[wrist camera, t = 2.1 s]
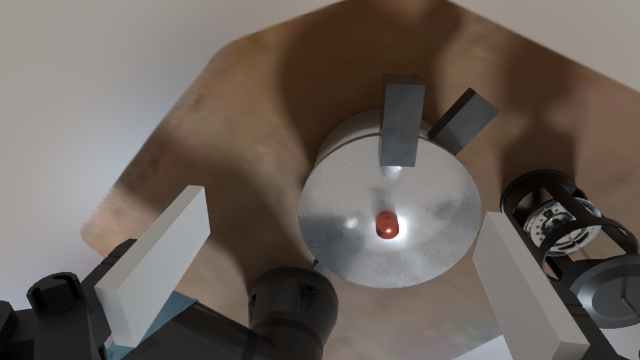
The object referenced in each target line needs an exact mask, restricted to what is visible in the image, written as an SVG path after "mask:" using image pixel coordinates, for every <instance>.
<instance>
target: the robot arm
mask: <svg viewBox="0 0 640 360" xmlns="http://www.w3.org/2000/svg"><path fill="white" fill-rule="evenodd" d="M209 235H210V226H209V219H208V211H207V204H206V197H205V190H204V186H194V185H188V186H187V187H186V188H185V189H184V191H183V192H182V193H181V194H180V195H179V196H178V197H177V198H176V199H175V200H174V201H173V202H172V203H171V204H170V206H169V207H168V208H167V209H166V210H165V211H164V212H163V213H162V214H161V215H160V216H159V217H158V218H157V220H156V221H155V222H154V223H153V224H152V225H151V226H150V227H149V228H148V229H147V230H146V231H145V232H144V234H143V235H142V236H141V237H140V238H139V239H128V240H127V241H125V242H123V243H121V244H120V245H118V246H117V247H116V248H115V249H114V250H113V251H112V252H111V253H110V254H109V255H108V257H106V258H105V259H104V260H103V261H102V262H101V264H100V265H98V266H97V267H96V268H95V269H94V270H93V271H92V272H91V273H90V274H89V275H88V276H87V277H86V278H85V279H84V280H83V281H82V282H81V283H80V282H79V280H78V277H77V275H76V274H73V273H71V272H61V273H56V274H52V275H49V276H47V277H45V278H43V279H41V280H39V281H38V282H36V283H35V284H34V285H33V286H32V287H31V288H30V289H29V290H28V293H27V295H26V296H27V298H28V300H29V302H30V304H31V306H32V309H25V310H19V311H14V310H13V308H12V306H11V305H10V304H9V302H6V301H3V300H2V301H0V360H322V355H323V347H324V345H325V343H326V341H327V339H328V337H329V335H330V333H331V331H332V329H333V327H334V325H335V323H336V320H337V315H338V299H337V296H336V293H335V291H334V290H333V288H332V287H331V286H330V285H329V284H328V283H327V282H326V281H325V280H324V279H322V278H321V277H319V276H318V275H316V274H314V273H312V272H309V271H306V270H302V269H297V268H281V269H276V270H272V271H270V272H268V273H266V274H264V275H262V276H261V277H260V278H259V279H258V280H257V281H256V283H255V284H254V286H253V289H252V291H251V294H250V297H249V302H248V315H249V328H247V327H245V326H243V325H241V324H239V323H238V322H236V321H234V320H232V319H230V318H228V317H226V316H224V315H222V314H220V313H219V312H217V311H215V310H213V309H211V308H209V307H207V306H205V305H204V304H202V303H200V302H198V301H199V300H197V299H192V298H190V297H188V296H185V295H183V294H181V293H179V292H177V291H174V288H175V287H176V285H177V284H178V282H179V281H180V279H181V278H182V276H183V275H184V273H185V271H186V270H187V268H188V267H189V265H190V264H191V262H192V261H193V259H194V258H195V256H196V255H197V253H198V251H199V250H200V248H201V247H202V245H203V244H204V242H205V241H206V239H207V238H208V236H209ZM472 261H473V263H474V265H475V268H476V270H477V273H478V275H479V278H480V280H481V282H482V285H483V287H484V290H485V292H486V295H487V297H488V299H489V302H490V304H491V307H492V309H493V312H494V314H495V316H496V319H497V321H498V324H499V326H500V329H501V331H502V333H503V336H504V338H505V341H506V343H507V345H508V348H509V350H510V353H511V355H512V358H513V360H629V359H627V358H625V357H622V356H620V355H618V354H617V353H616V351H615V350H614V349H613V347H612V346H611V344H610V343H609V341H608V340H607V339H606V337H605V336H604V334H603V333H602V332H601V330H600V329H599V327H598V326H597V325H596V323H595V322H594V320H593V319H592V318H590V315H589V313H588V312H587V310H586V309H585V308H583V305H582V303H581V302H580V301H579V299H578V298H577V296H576V295H575V294H574V293H573V292H572V291H571V290H570V289H568V288H567V287H566V286H565V285H564V284H563V283H561V282H554V281H548V279H547V278H546V276H545V274H544V273H543V271H542V270H541V268H540V267H539V265H538V264H537V262H536V261H535V259H534V258H533V256H532V254H531V253H530V251H529V250H528V248H527V247H526V245H525V244H524V242H523V241H522V239H521V238H520V236H519V234H518V233H517V231H516V230H515V228H514V227H513V225H512V224H511V222H510V221H509V219H508V218H507V216H506V214H505V213H497V212H487V213H486V216H485V219H484V222H483V226H482V229H481V232H480V235H479V238H478V241H477V245H476V248H475V251H474V254H473V257H472ZM111 334H112V337H113V340H114V341H113V342H112V344H111V345H110V347H109V348H108V349H107V350H106V348H105V345H104V343H105V341H106V340H107V338H108V337H109V336H110V335H111Z"/></svg>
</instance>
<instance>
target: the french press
mask: <svg viewBox="0 0 640 360" xmlns="http://www.w3.org/2000/svg"><path fill="white" fill-rule="evenodd" d="M560 184H561V185H562V186H563V187H564V188H563V187H562V186H561V185H560ZM540 187H543V188H544V189H545V190H546V191H547V192H548V193H549V194H550V195H551V196H552V197H553V198H554V199H551V200H548V201H546V202H544V203H543V204H541V205H539V206H538V207H537V208H535V209H534V210H533V211H532V212H531V213H530V214H529V216H528V217H527V219H526V220H525V222H522V221H520V220H518V219H517V218H516V217H515V216H514V214H513V213H514V210H515V208H516V206H517V205H518V203H519V202H520V201H521V200H522V198H523V197H525V196H526V195H527V194H528V193H530V192H532V191H534V190H535V189H538V188H540ZM500 208H501V213H505V214H506V216H507V218H508V219H509V221H510V222H511V224H512V225H513V227H514V228H515V230H516V231H517V233H518V234H519V236H520V238H521V239H522V241H523V242H524V244H525V245H526V247H527V248H528V250H529V251H530V253H531V254H532V256H533V257H534V259H535V260H536V262H537V263H538V265H539V267H540V268H541V270H542V271H543V273H544V274H545V276H546V278H547V279H548V281H554V282H561V283H563V284H564V285H565V286H566V287H567V288H568V289H570V290H571V291H572V292H573V293H574V294H575V295H576V296H577V298H578V299H579V301H580V302H581V303H582V305H583V308H585V309H586V310H587V312H588V313H589V315H590V318H592V319H593V320H594V322H595V323H596V325H597V326H598V327H599V328H603V329H612V328H614V329H615V328H623V327H628V326H632V325H636V324H638V323H640V254H639V244H638V241H637V239H636V238H635V236H634V235H633V234H632V233H631V232H629V231H628V230H627V229H626V228H625V227H624V226H622V225H621V224H620V223H619V222H616V221H614V220H612V219H609V218H606V217H604V216H603V215H602V214H601V213H600V211H599V209H598V208H597V207H596V206H595V205H594V204H593V203H591V202H589V201H588V199H587V197H586V195H585V194H584V192H583V191H581V190H580V189H579V188H578V187H577V186H576V185H575V183H574V182H573V180H572V179H570V178H569V177H568V176H567V175H565V174H563V173H561V172H558V171H554V170H537V171H533V172H530V173H527V174H525V175H523V176H521V177H519V178H518V179H516V180H515V181H514V182H512V183H511V184H510V185H509V186H508V188H507V189H506V190H505V192H504V194H503V196H502V199H501V204H500ZM618 228H620V229H622V230H624V231H625V232H626V234H627V236H626V235H625V234H624V233H623V232H622V231H620V230H619V229H618ZM600 229H602V230H603V231H604V232H605V233H606V234H607V235H608V236H609V237H610V238H612V239H613V240H614V241H615V242H616V243H617V244H618V245H619V246H620V247H621V248H622V249H623V250H624V251H625V252H626V254H624V255H619V256H613V257H610V258H607V259H591V258H590V257H589V256H588V255H587V254H586V252H585V251H584V250H583V248H584V247H586V246H587V245H589V244H590V243H591V242H592V241H593V240H594V239H595V237H596V236H597V235H598V233H599V231H600ZM577 251H580V252H581V253H582V255H583V256H584V257H585V258H586V259H584V260H577V261H575V262H573V261H572V260H571V259H570V257H569V256H568V255H569V254H572V253H575V252H577ZM545 261H546V262H547V264H548V265H549V267H550V268H551V269H552V271H553V272H554V274H555V275H556V276H557V278H558V279H559V280H557V279H555V278H553V277H551V276H549V275H548V274H546V272H545V268H544V263H545ZM639 358H640V351H639Z"/></svg>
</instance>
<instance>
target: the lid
mask: <svg viewBox="0 0 640 360" xmlns="http://www.w3.org/2000/svg"><path fill="white" fill-rule="evenodd" d="M425 87H426V85H425V83H424V82H423V81H422V80H421V78H420V77H419V76H418V75H383V87H382V100H381V113H380V125H379V132H378V133H372V134H367V135H363V136H360V137H356V138H354V139H351V140H349V141H347V142H344V143H343V144H341V145H339V146H337V147H336V148H334V149H333V150H332V151H330V152H329V153H328V154H326V155H325V156H324V157H323V158H322V159H321V160H320V161H319V162H318V163H317V164H316V166H315V167H314V168H313V170H312V171H311V173H310V175H309V176H308V178H307V180H306V182H305V185H304V188H303V191H302V194H301V198H300V203H299V212H298V218H299V226H300V230H301V233H302V236H303V239H304V241H305V243H306V245H307V247H308V248H309V250H310V252H311V253H312V254H313V255H314V256H315V258H316V259H317V260H318V261H319V262H320V263H321V264H322V265H323V266H325V267H326V268H327V269H328V270H330V271H331V272H333V273H334V274H336V275H338V276H340V277H342V278H344V279H346V280H348V281H351V282H354V283H357V284H360V285H365V286H369V287H377V288H399V287H406V286H412V285H416V284H419V283H423V282H425V281H428V280H430V279H433V278H435V277H437V276H439V275H441V274H442V273H444V272H445V271H447V270H448V269H450V268H451V267H452V266H454V265H455V264H456V263H457V262H458V261H459V260H460V259H461V258H462V257H463V256H464V255H465V254H466V252H467V251H468V249H469V248H470V247H471V245H472V243H473V241H474V239H475V237H476V235H477V232H478V229H479V226H480V220H481V202H480V195H479V193H478V190H477V187H476V184H475V182H474V181H473V179H472V177H471V175H470V174H469V172H468V170H467V169H466V168H465V166H464V165H463V164H462V162H461V161H460V160H459V159H458V158H457V157H456V156H455V155H454V154H453V153H452V152H450V151H449V150H448V149H446V148H445V147H443V146H442V145H440V144H438V143H436V142H434V141H432V140H430V139H427V138H425V137H422V136H419V132H420V124H421V117H422V109H423V102H424V95H425Z"/></svg>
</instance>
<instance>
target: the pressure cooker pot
mask: <svg viewBox="0 0 640 360" xmlns="http://www.w3.org/2000/svg"><path fill="white" fill-rule="evenodd" d="M499 112H500V111H499V110H497V109H496V108H495V107H494V106H492V105H491V104H490V103H489V102H488V101H486V100H485V99H484V98H483V97H481V96H480V95H479V94H478V93H476V92H475V91H474V90H473V89H471V88H470V87H469V88H468V89H467V90H466V91H465V93H464V94H463V95H462V96H461V97H460V98H459V99H458V100H457V101H456V102H455V103H454V104H453V106H452V107H451V108H450V109H449V110H448V111H447V112H446V113H445V114H444V115H443V116H442V117H441V119H440V120H439V121H438V122H437V123H436V124H435V125H434V126H433V127H432V126H431V125H430V124H429V123H428V122H427V121H425V120H423V119H422V118H421V124H420V132H419V136H422V137H425V138H427V139H430V140H432V141H434V142H436V143H438V144H440V145H442V146H443V147H445V148H446V149H448V150H449V151H450V152H452V153H453V154H454V155H456V154H457V153H458V152H459V151H461V150H462V149H463V148H464V147H465V146H466V145H467V144H468V143H469V142H470V141H471V140H472V139H473V138H474V137H475V136H476V135H477V134H478V133H479V132H480V131H481V130H482V129H483V128H484V127H485V126H486V125H487V124H488V123H489V122H490V121H491V120H492V119H493V118H494V117H495V116H496V115H497V114H498V113H499ZM380 113H381V108H379V109H371V110H366V111H363V112H360V113H357V114H355V115H353V116H350V117H348V118H347V119H345V120H344V121H342V122H341V123H339V124H338V125H337V126H336V127H335V128H334V129H333V130H332V131H331V132H330V133H329V134H328V135H327V137H326V138H325V140H324V141H323V143H322V145H321V147H320V149H319V152H318V155H317V158H316V162H315V165H314V167H315V166H316V164H317V163H318V162H319V161H320V160H321V159H322V158H323V157H324V156H325V155H326V154H328V153H329V152H330V151H332V150H333V149H334V148H336V147H337V146H339V145H341V144H343V143H344V142H347V141H349V140H351V139H354V138H356V137H360V136H363V135H367V134H372V133H378V132H379V125H380ZM313 269H314V270H315V271H317V272H319V273H320V274H322V275H324V276H325V277H327V278H328V277H329V276H330V275H331V274H332V273H333V272H331V271H330V270H328V269H327V268H326V267H325V266H323V265H322V264H321V263H320V262H319V261H318V260H317V259H315V260H314V264H313Z"/></svg>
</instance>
